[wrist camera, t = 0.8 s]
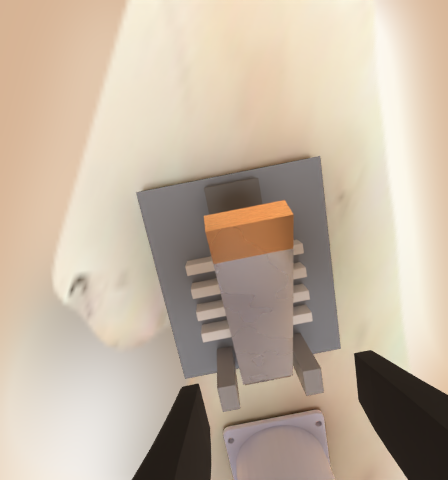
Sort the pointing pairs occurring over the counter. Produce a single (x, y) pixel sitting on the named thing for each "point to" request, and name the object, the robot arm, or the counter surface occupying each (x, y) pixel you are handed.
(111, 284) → the counter surface
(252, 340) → the orange-ended grey bar
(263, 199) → the heatsink base
